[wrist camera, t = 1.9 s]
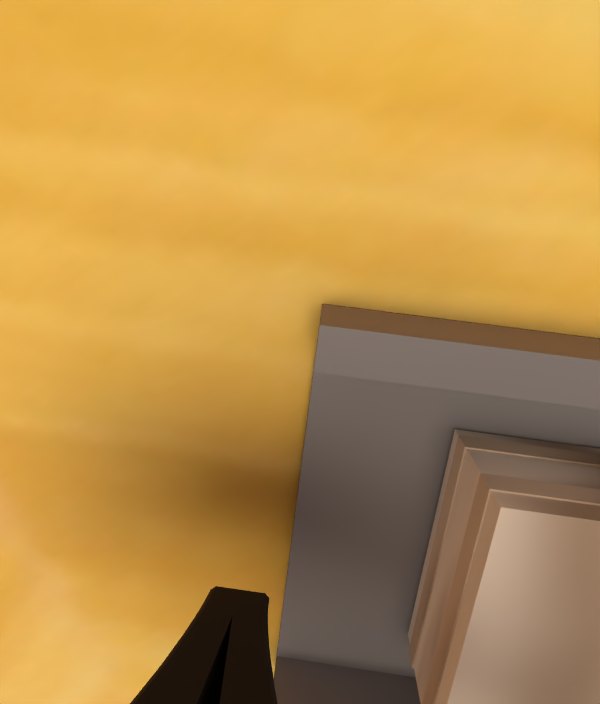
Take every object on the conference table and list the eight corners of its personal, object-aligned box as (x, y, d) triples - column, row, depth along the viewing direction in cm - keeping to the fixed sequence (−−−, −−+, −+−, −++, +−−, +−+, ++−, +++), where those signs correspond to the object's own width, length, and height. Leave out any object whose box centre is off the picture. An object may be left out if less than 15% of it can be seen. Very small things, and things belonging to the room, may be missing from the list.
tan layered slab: (657, 454, 14) (782, 544, 10) (580, 661, 16) (658, 799, 12) (453, 427, 14) (499, 505, 10) (406, 635, 16) (429, 763, 12)
